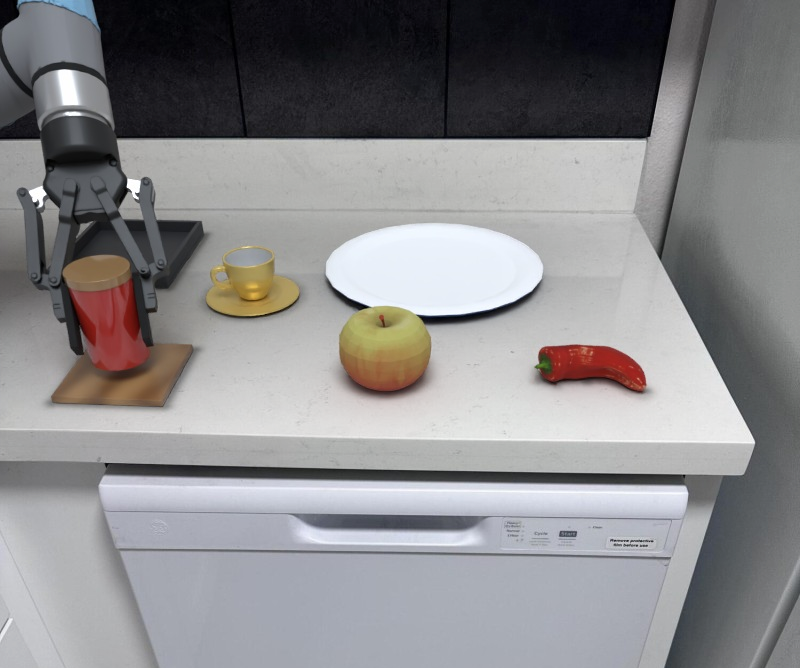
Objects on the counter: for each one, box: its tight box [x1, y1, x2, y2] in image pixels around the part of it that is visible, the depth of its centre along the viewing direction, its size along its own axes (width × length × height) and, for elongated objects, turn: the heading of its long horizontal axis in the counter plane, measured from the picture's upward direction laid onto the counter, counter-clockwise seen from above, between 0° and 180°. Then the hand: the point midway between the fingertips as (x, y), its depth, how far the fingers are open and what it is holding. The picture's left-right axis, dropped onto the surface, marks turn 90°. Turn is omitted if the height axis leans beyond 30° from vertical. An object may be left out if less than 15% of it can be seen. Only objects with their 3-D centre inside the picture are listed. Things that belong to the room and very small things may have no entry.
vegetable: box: [533, 344, 647, 392], centre depth 85 cm, size 4×5×12 cm
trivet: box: [50, 342, 194, 408], centre depth 88 cm, size 12×12×1 cm
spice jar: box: [63, 255, 151, 371], centre depth 83 cm, size 7×7×10 cm
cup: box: [205, 245, 300, 317], centre depth 100 cm, size 12×12×5 cm
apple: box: [338, 306, 432, 392], centre depth 84 cm, size 10×10×8 cm
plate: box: [325, 222, 544, 318], centre depth 106 cm, size 29×29×2 cm
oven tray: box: [46, 218, 205, 289], centre depth 111 cm, size 16×18×2 cm
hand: (113, 346), depth 82 cm, fingers closed on spice jar, 6 cm apart
